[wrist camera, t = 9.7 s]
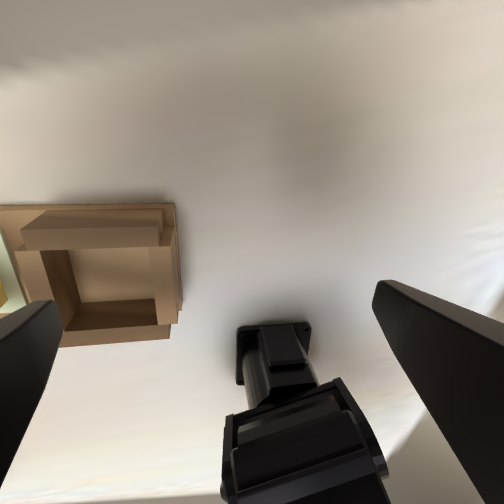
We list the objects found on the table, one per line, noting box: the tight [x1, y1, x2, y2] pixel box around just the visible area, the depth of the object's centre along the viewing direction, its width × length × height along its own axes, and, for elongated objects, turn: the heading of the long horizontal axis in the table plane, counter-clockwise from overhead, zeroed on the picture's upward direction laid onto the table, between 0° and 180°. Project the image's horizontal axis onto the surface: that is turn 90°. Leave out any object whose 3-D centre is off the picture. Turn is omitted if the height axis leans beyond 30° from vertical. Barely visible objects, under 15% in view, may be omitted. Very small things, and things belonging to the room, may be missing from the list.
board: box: [0, 203, 182, 319], centre depth 20 cm, size 8×17×1 cm, turn 88°
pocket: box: [14, 209, 180, 348], centre depth 19 cm, size 8×8×3 cm
